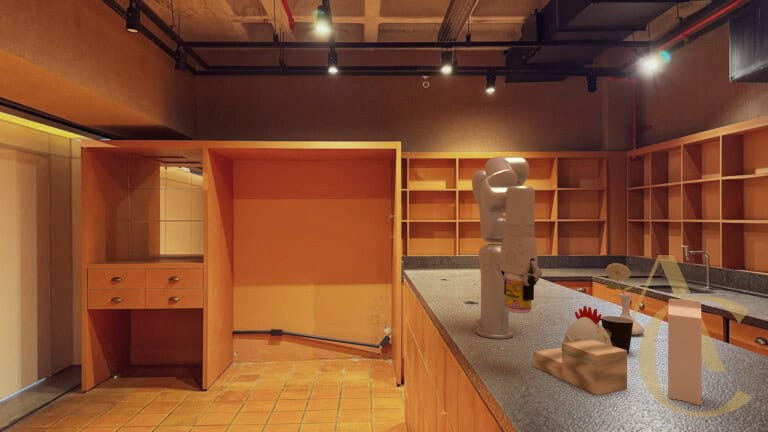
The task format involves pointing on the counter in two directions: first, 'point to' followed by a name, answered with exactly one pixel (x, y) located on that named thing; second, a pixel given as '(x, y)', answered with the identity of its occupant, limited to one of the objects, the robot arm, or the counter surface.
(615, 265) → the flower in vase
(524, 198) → the robot arm
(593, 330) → the kitchen timer
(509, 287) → the supplement bottle
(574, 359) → the stand
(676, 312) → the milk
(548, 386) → the counter surface
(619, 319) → the coffee mug
